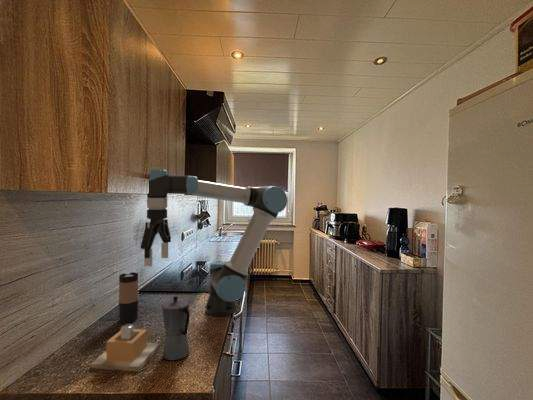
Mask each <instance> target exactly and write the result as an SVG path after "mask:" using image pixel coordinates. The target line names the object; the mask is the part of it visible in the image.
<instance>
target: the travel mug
mask: <svg viewBox="0 0 533 400" xmlns="http://www.w3.org/2000/svg"><path fill="white" fill-rule="evenodd" d="M118 282H119V283H118V293H119V294H118V303H119V304H118V310H119V311H118V312H119V314H118V315H119V322H120V323H121V324H131V323H133V322H135V321H137V320H138V317H139V316H138V315H139V313H138V312H139V273H138V272H133V271H132V272H129V273H122V274H121V273H120V274H119V276H118Z"/></svg>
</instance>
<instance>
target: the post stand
mask: <svg viewBox="0 0 533 400" xmlns="http://www.w3.org/2000/svg"><path fill="white" fill-rule="evenodd" d="M134 329H135V325H134V324H132V323H126V324H124V325H122V326H121V327H120V331H121V340H129V341H131V340H132V339H133V338H134ZM160 346H161V345H160V343H157V342H147V347H146V348H145V349H144V350H143V351H142V352H141V353H140V354H139V356H138V357H137V358H136V359H135V360H134V361H133V362H131V361H117V360H107V349H106V350H105V351H104V352H103V353H102V354H100V355H99V356H98V357H97V358H96V359H94V360H93V361H92V362H91V363H90V369H97V370H108V371H110V370H111V371H121V372H122V371H123V372H136V373H137V372H138V373H139V372H140V371H141V370H142V369H143V367H145V365H146V364H147V363H148V361H149V360H150V359H151V358H152V357H153V356H154V355H155V353H157V351H158V350H159V349H160Z"/></svg>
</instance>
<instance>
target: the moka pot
mask: <svg viewBox="0 0 533 400" xmlns="http://www.w3.org/2000/svg"><path fill="white" fill-rule="evenodd" d="M189 303H190V302H188V300H181V299H179V298H178V296H173V300H172V299H171V300H166V301H165V302H164V303H163V304H161V310H162V317H163V318H162V319H163V325H164V326H163V327H164V332H165V335H164V345H163V353H162V357H163V359H165V360H167V361H177V360H182V359H184V358H185V357H187V356H188V355H189V354H190V344H189V338H188V327H189V322H190V304H189Z"/></svg>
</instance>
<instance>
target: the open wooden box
mask: <svg viewBox="0 0 533 400" xmlns="http://www.w3.org/2000/svg"><path fill="white" fill-rule="evenodd" d="M147 343H148V329H136V328H134V338H133V339H132V340H131V341H129V340H121V330H119V331H118V332H117V333H115V334H114V335H113V336H112V337H110V338H109V339H107V341H106V350H107V360H117V361H131V362H133V361H134V360H135V359H136V358H137V357H138V356H139V354H140V353H141V352H142V351H143V350H144V349H145V348H146V347H147Z"/></svg>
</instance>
